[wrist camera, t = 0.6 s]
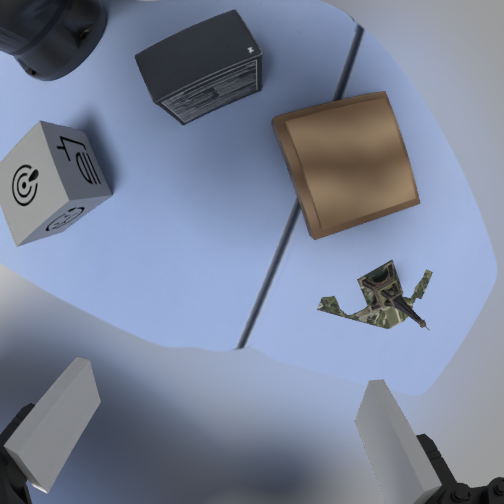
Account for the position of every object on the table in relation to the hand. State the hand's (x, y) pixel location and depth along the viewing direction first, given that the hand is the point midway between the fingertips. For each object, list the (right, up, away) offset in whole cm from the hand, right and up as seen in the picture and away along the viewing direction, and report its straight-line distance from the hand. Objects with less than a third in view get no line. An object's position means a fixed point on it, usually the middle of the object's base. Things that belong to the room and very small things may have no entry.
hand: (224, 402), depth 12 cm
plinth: (+12, +17, +21) cm, 30 cm away
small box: (-4, +27, +19) cm, 33 cm away
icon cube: (-23, +16, +22) cm, 35 cm away
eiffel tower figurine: (+18, +2, +25) cm, 31 cm away
